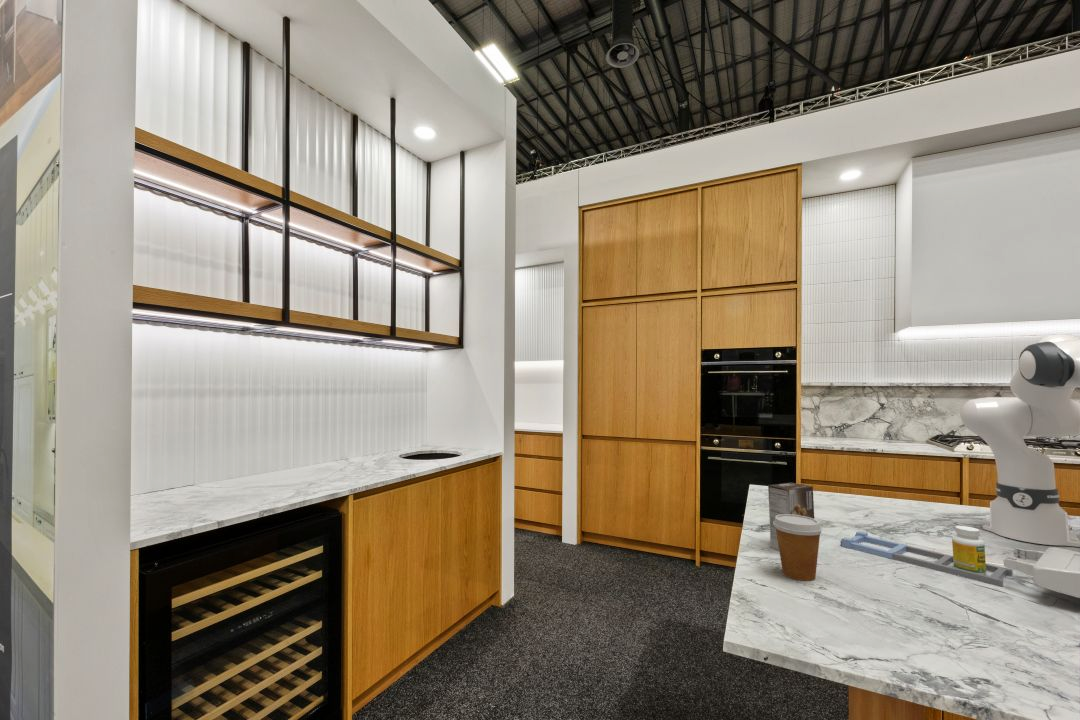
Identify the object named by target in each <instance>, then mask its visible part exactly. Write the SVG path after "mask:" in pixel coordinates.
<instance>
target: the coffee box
mask: <svg viewBox="0 0 1080 720" xmlns="http://www.w3.org/2000/svg"><path fill="white" fill-rule="evenodd" d="M767 486H768V487H767V488H768V511H769V512H768V514H769V536H770V537H769V541H770V548H771V549H774V550H776V551H779V546H778V540H777V533H776V528H775V526H774V524H773V521H775V516H777V515H781V514H792V515H800V516H806V517H810V518H813V519H815V504H814V502H815V500H814V486H811V485H806V484H801V483H795V482H783V483H777V484H776V483H775V484H768V485H767Z"/></svg>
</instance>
